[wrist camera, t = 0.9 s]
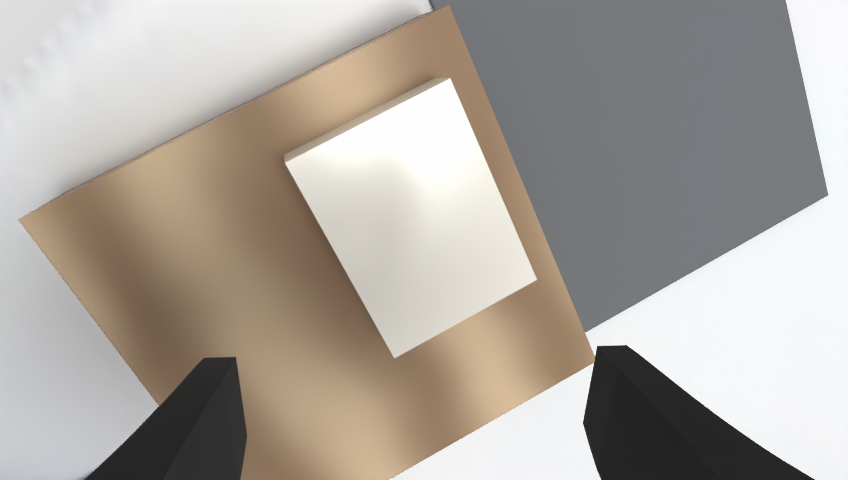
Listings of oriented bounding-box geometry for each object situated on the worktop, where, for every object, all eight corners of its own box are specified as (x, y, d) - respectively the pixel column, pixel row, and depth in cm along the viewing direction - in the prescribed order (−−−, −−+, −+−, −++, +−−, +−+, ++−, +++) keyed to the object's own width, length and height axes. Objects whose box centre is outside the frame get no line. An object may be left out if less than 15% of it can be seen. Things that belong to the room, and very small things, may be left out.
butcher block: (268, 486, 29) (267, 549, 25) (59, 195, 23) (18, 219, 20) (556, 325, 30) (596, 361, 26) (422, 14, 25) (449, 4, 21)
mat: (571, 336, 31) (574, 338, 30) (401, -65, 24) (403, -67, 24) (823, 193, 32) (828, 195, 32) (730, -224, 25) (735, -228, 25)
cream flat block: (384, 335, 24) (394, 358, 22) (283, 154, 21) (285, 163, 19) (517, 263, 24) (536, 279, 22) (434, 77, 22) (450, 78, 20)
